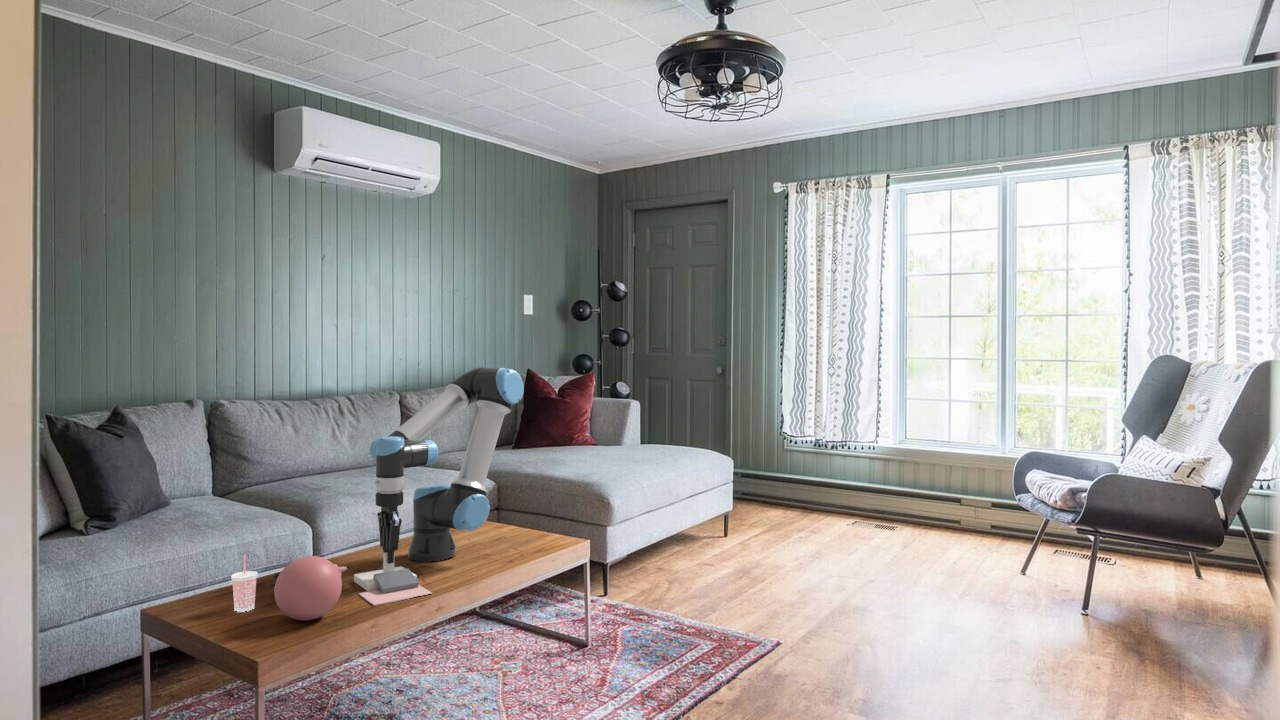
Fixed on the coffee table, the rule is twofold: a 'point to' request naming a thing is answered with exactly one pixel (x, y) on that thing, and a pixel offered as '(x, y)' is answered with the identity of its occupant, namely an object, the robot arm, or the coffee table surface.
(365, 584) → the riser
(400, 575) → the coaster
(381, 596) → the felt mat
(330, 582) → the balloon
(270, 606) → the coffee table surface
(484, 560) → the coffee table surface
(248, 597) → the beverage cup
